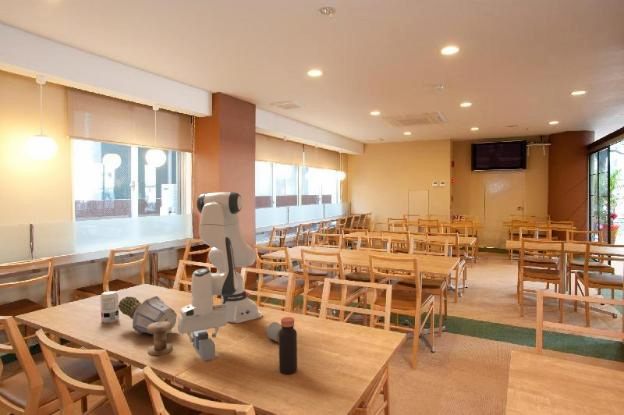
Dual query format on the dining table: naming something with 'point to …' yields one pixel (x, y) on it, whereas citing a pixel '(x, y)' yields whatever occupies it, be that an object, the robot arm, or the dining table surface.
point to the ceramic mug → (274, 331)
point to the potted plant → (147, 313)
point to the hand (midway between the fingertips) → (203, 339)
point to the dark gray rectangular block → (202, 336)
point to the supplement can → (109, 307)
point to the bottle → (287, 346)
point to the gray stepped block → (204, 347)
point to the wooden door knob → (160, 338)
